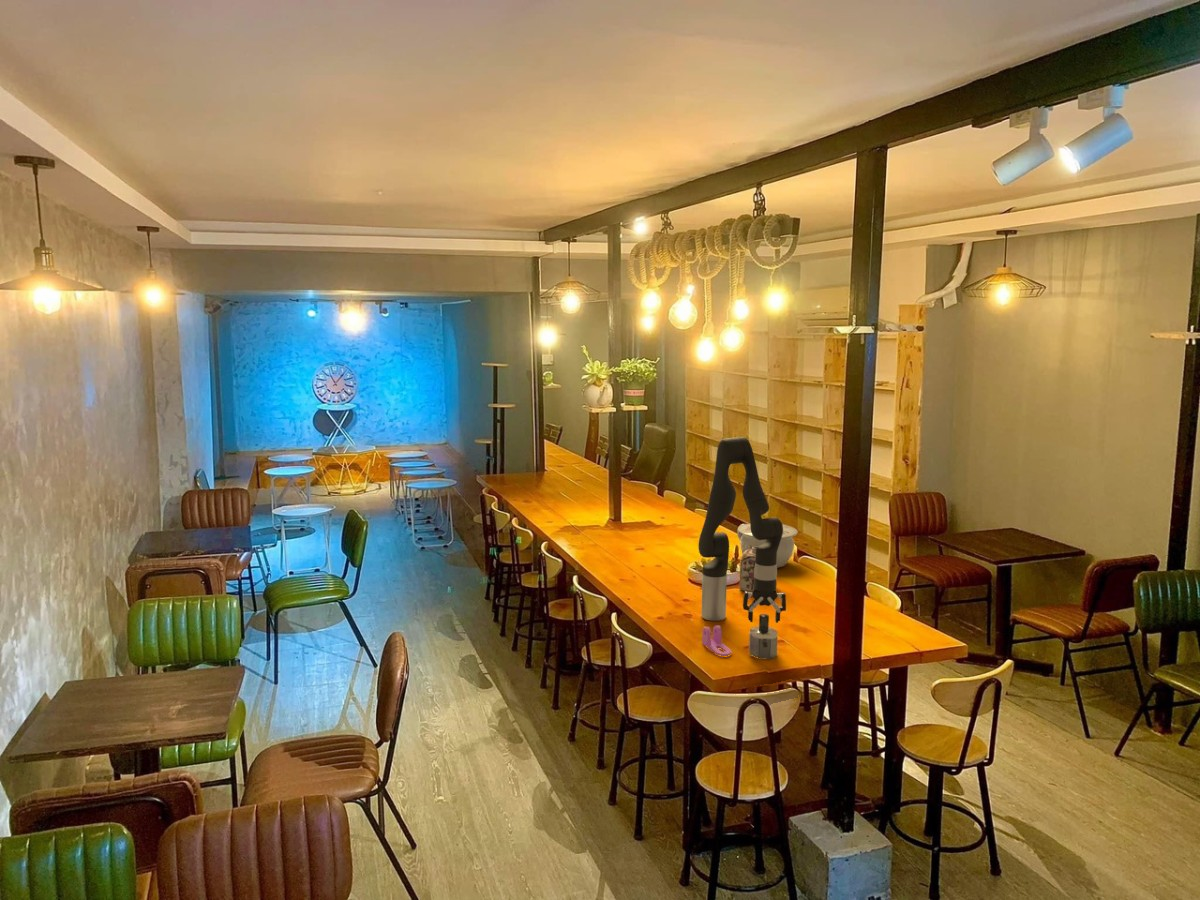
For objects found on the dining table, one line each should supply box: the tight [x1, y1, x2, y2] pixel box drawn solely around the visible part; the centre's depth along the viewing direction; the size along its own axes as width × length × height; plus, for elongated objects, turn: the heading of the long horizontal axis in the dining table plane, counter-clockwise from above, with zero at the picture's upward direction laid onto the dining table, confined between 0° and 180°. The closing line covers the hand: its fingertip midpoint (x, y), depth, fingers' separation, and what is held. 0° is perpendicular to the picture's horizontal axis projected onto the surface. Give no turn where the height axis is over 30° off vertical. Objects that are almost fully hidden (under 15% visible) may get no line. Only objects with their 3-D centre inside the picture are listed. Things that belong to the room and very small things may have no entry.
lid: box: [749, 613, 778, 640], centre depth 283 cm, size 9×9×7 cm
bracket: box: [701, 625, 732, 656], centre depth 287 cm, size 13×6×7 cm, turn 20°
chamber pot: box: [736, 522, 799, 569], centre depth 384 cm, size 28×28×21 cm
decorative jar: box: [739, 547, 757, 592], centre depth 351 cm, size 12×12×18 cm
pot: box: [748, 634, 778, 660], centre depth 284 cm, size 13×9×7 cm
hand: (763, 621), depth 283 cm, fingers open, 8 cm apart
